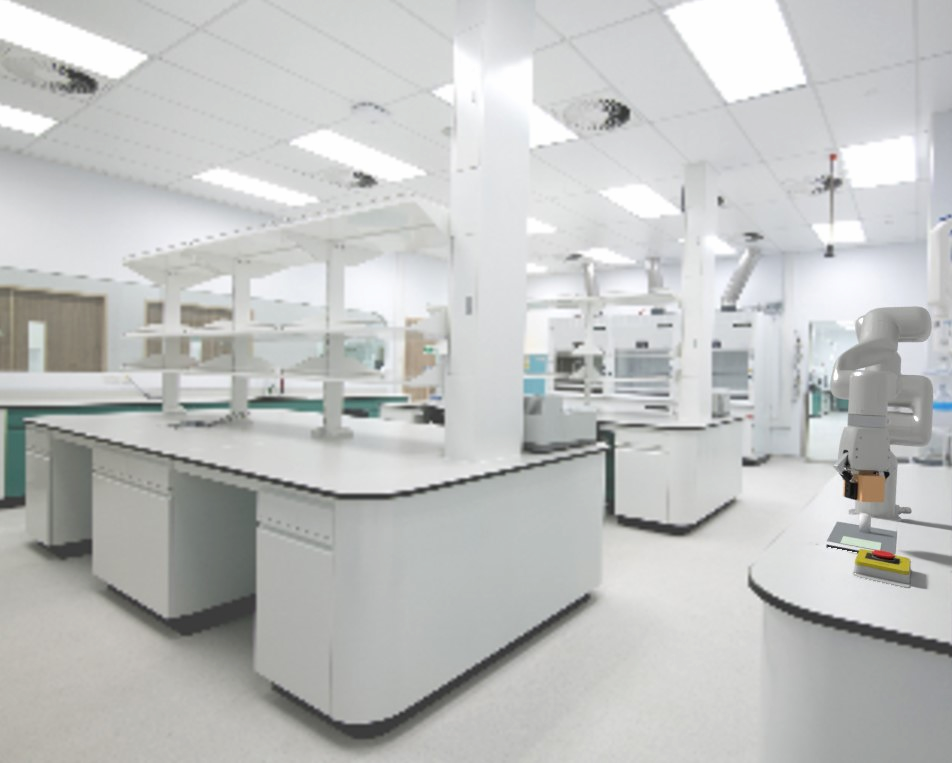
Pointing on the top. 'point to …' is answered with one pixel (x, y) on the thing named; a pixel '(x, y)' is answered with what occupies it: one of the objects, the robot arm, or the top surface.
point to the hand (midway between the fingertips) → (862, 498)
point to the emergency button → (883, 567)
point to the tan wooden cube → (869, 487)
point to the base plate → (863, 536)
